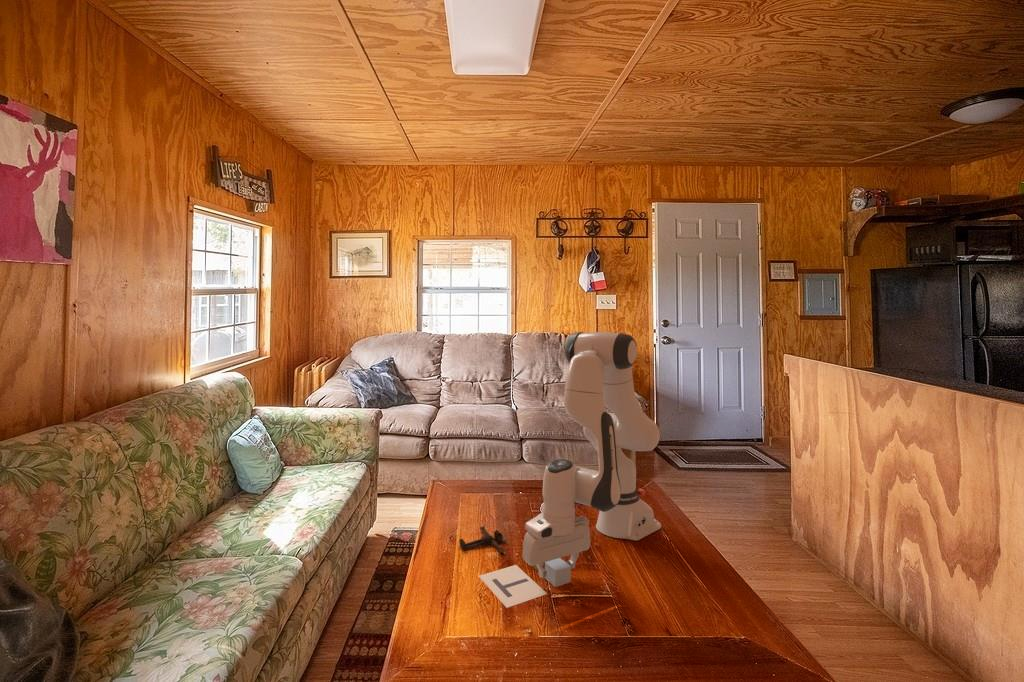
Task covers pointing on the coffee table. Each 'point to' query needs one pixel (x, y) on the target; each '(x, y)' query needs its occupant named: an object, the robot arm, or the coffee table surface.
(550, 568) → the grey cube
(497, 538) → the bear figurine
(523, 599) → the letter card
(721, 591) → the coffee table surface
